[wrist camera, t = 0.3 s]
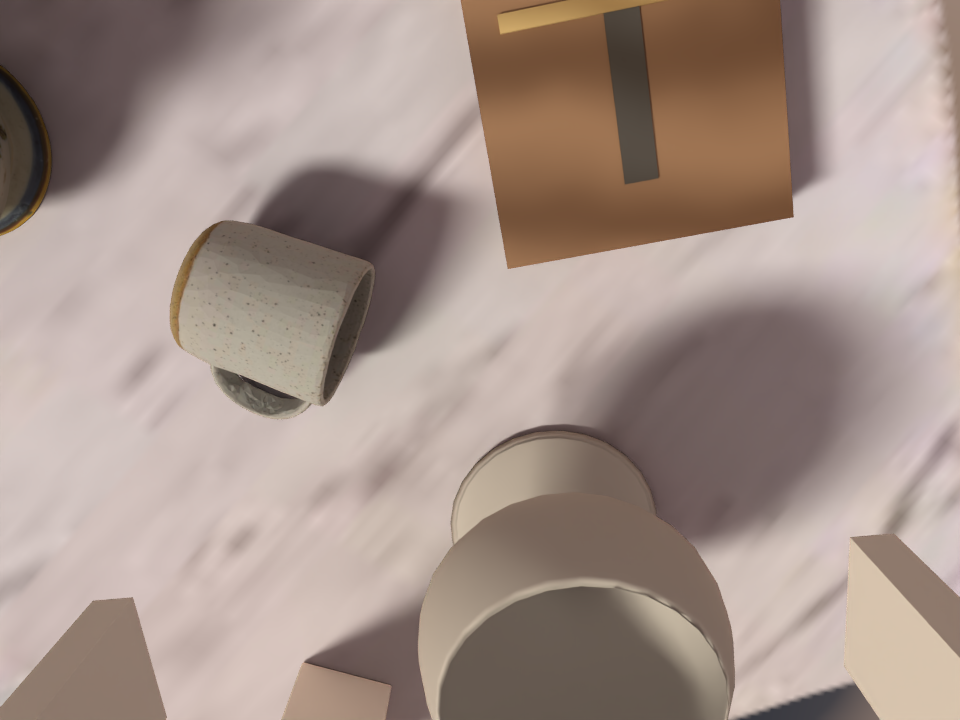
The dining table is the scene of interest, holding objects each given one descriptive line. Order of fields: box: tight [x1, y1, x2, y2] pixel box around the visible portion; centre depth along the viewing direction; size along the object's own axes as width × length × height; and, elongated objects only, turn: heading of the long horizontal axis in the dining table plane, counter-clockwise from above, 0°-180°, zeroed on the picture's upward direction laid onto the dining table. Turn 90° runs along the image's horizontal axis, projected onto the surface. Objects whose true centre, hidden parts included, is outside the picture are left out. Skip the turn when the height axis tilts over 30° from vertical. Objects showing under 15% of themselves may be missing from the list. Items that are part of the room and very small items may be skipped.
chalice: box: [418, 431, 735, 720], centre depth 36 cm, size 14×14×15 cm
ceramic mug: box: [170, 221, 375, 419], centre depth 36 cm, size 11×8×8 cm
